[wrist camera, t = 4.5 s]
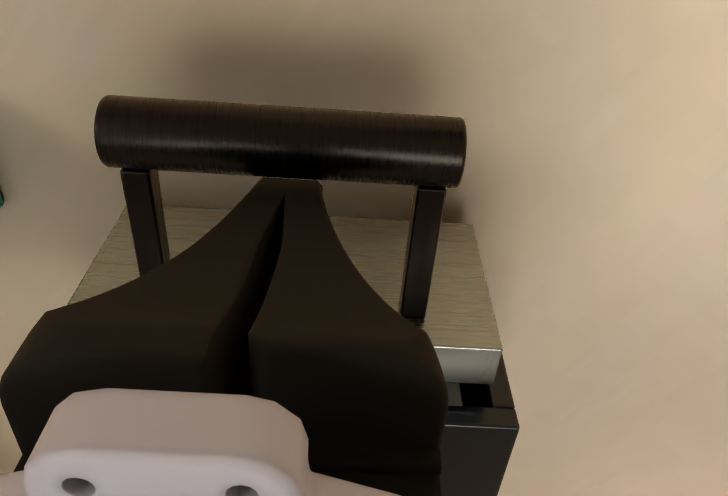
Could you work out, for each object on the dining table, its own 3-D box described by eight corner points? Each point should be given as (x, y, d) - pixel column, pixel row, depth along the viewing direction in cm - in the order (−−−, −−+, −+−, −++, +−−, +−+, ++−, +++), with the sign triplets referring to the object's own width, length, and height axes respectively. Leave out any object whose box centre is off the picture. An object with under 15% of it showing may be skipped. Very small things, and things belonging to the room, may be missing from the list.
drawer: (94, 29, 15) (-12, 119, 11) (506, 57, 15) (557, 155, 11) (175, 463, 25) (136, 594, 21) (422, 474, 25) (432, 605, 21)
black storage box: (123, 234, 19) (28, 404, 14) (479, 255, 20) (520, 427, 14) (172, 482, 27) (123, 653, 22) (427, 493, 28) (441, 664, 22)
